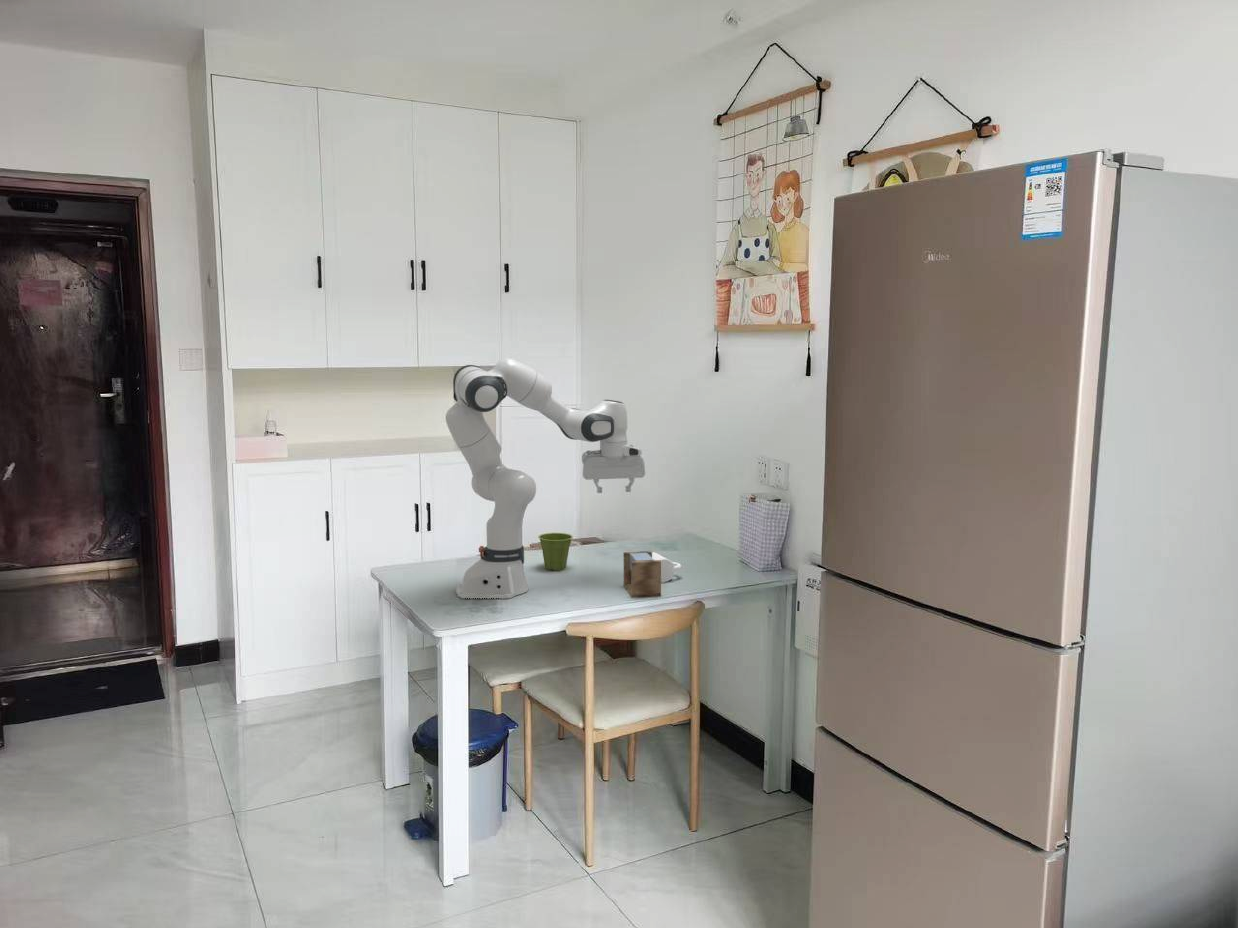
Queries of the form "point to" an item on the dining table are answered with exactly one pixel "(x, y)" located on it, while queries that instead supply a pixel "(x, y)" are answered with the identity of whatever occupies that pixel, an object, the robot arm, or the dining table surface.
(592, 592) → the dining table surface
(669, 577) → the mug
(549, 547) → the plant pot
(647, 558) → the light blue block
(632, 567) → the stand
